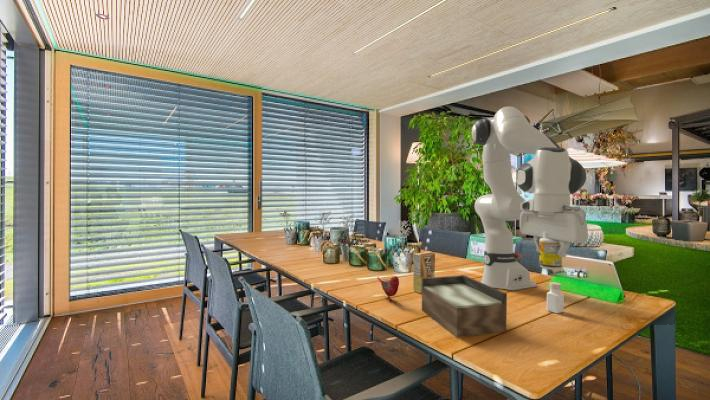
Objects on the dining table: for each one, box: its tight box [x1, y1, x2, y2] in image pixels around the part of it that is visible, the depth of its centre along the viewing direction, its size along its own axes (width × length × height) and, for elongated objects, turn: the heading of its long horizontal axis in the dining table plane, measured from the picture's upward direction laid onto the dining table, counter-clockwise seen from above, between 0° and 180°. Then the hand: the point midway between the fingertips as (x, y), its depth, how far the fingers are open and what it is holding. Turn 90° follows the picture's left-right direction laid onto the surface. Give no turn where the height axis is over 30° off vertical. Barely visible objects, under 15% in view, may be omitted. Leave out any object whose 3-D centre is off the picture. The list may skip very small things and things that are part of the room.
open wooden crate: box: [421, 274, 508, 338], centre depth 107 cm, size 16×22×11 cm
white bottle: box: [546, 281, 565, 314], centre depth 115 cm, size 4×4×10 cm
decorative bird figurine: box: [377, 275, 400, 302], centre depth 128 cm, size 3×18×10 cm, turn 22°
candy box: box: [412, 251, 436, 294], centre depth 139 cm, size 9×4×15 cm, turn 129°
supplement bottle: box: [538, 232, 563, 271], centre depth 96 cm, size 6×6×10 cm
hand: (550, 254), depth 96 cm, fingers closed on supplement bottle, 5 cm apart
